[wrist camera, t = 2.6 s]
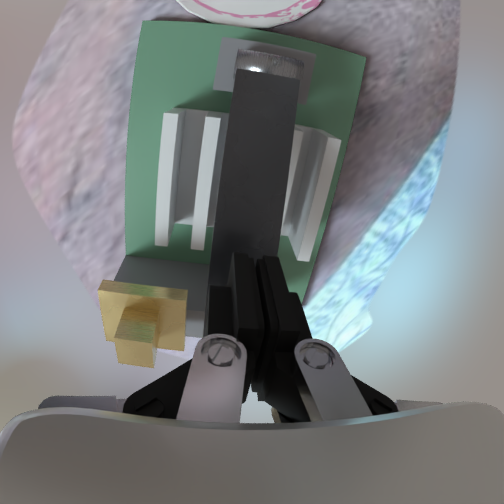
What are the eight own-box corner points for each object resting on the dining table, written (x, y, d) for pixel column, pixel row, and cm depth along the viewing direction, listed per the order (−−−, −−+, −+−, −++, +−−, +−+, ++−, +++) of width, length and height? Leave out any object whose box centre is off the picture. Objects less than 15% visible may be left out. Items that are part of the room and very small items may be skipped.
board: (146, 23, 16) (115, 1, 10) (360, 58, 18) (408, 53, 12) (131, 292, 27) (112, 346, 21) (295, 308, 29) (310, 362, 23)
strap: (236, 56, 14) (239, 43, 12) (296, 67, 14) (305, 55, 13) (200, 338, 16) (199, 352, 15) (259, 342, 17) (264, 356, 15)
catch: (102, 279, 16) (83, 319, 14) (187, 289, 17) (182, 332, 14) (110, 329, 18) (96, 369, 16) (185, 339, 19) (181, 382, 16)
